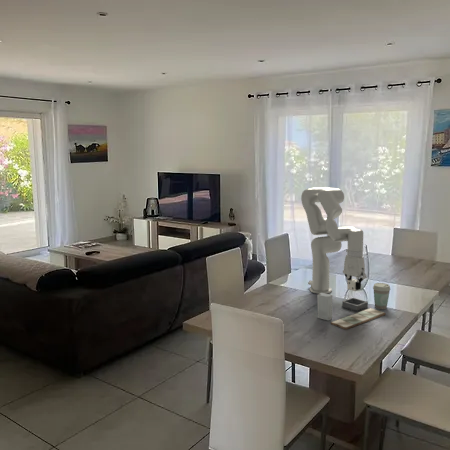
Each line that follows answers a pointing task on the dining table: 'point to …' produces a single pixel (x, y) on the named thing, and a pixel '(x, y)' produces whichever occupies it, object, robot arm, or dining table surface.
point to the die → (352, 284)
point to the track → (358, 318)
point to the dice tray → (355, 304)
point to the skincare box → (324, 306)
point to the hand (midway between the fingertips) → (354, 287)
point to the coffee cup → (381, 295)
